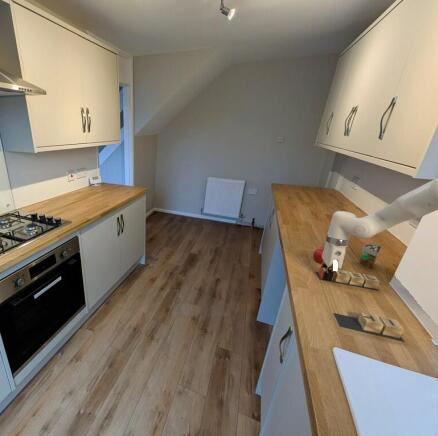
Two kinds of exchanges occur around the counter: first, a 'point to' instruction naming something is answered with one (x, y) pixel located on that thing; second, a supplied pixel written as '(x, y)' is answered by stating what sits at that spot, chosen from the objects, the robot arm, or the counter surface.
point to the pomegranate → (318, 255)
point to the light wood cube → (370, 281)
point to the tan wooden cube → (370, 322)
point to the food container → (369, 254)
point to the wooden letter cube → (356, 279)
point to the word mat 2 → (358, 326)
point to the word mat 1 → (346, 283)
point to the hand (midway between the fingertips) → (325, 276)
